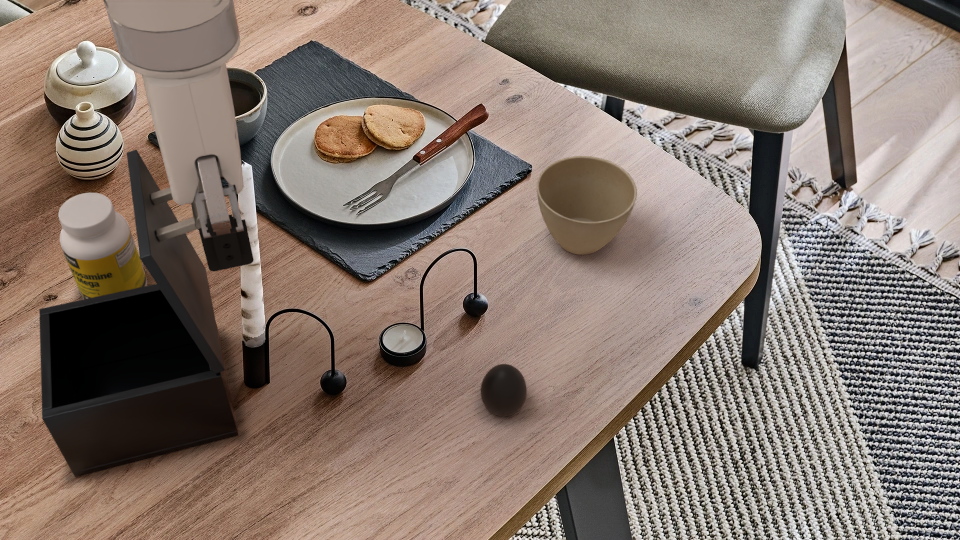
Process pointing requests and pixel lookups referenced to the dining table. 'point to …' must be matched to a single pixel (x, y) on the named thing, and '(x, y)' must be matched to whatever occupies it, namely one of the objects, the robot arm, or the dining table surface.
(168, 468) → the dining table surface
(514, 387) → the egg
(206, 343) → the lid
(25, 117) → the dining table surface
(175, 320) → the compartment
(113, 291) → the pill bottle
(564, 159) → the tan bowl
